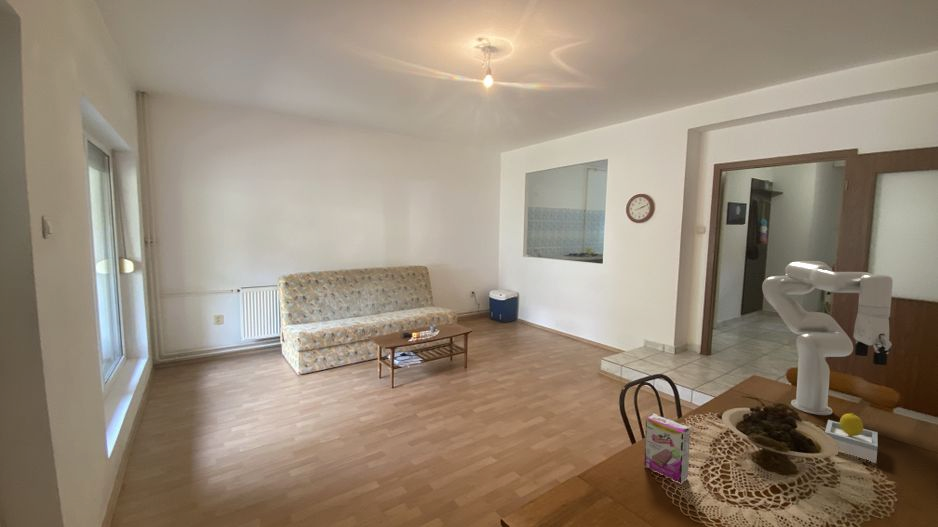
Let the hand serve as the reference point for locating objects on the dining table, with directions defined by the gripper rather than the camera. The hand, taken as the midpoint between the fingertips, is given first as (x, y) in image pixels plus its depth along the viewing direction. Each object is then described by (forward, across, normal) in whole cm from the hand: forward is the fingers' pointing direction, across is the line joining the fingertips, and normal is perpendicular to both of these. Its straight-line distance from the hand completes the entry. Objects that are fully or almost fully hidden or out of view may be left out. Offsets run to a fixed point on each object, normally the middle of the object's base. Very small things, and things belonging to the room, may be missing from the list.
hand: (869, 359), depth 131 cm
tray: (+28, +9, -8) cm, 31 cm away
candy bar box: (+28, +44, -68) cm, 86 cm away
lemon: (+24, +9, -8) cm, 27 cm away
